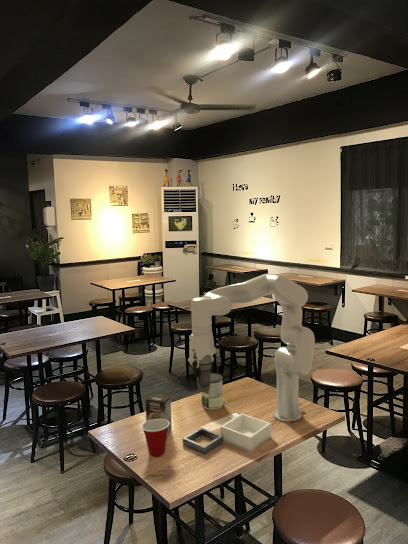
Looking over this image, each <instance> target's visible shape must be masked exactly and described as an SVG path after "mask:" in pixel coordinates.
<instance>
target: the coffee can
mask: <svg viewBox="0 0 408 544" xmlns="http://www.w3.org/2000/svg"><path fill="white" fill-rule="evenodd" d="M223 380H224V379H223V376H222V374H219V373H214V372H213V373H212V372H211V375H210V390H209V391H208V392H201V407H202V408H203V409H206V410H211V411H212V410H218V409H221V408H222V407H223V406H224V403H223V401H224V400H223Z"/></svg>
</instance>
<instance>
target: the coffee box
mask: <svg viewBox="0 0 408 544" xmlns="http://www.w3.org/2000/svg"><path fill="white" fill-rule="evenodd" d="M153 419H165V420H167V421H169V427H168V432H167V438H168V437H169V436H170V434H172V432H173V431H172V430H173V429H172V396H170V395H164V394H158V393H151V394H150V395H149V396H147V397H145V420H146V421H145V422H147V421H149V420H153Z"/></svg>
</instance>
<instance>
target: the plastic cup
mask: <svg viewBox="0 0 408 544" xmlns="http://www.w3.org/2000/svg"><path fill="white" fill-rule="evenodd" d="M168 427H169V421H167V420H165V419H153V420H149V421H147V422H146V421H145V422H143V423H142V424H141V429H142V431H143V433H144V438H145V440H146V446H147V447H148V453H149V455H150V456H151V457H154V458H158V457H162V456H163V455H164V454H165V452H166V446H167V439H168V437H167V432H168Z"/></svg>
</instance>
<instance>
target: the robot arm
mask: <svg viewBox="0 0 408 544" xmlns="http://www.w3.org/2000/svg"><path fill="white" fill-rule="evenodd" d="M268 295H272V296H273V297H274V299H275V300H276V301H277V302H278V304H279V305H280V308H281V310H282V320H281V325H280V326H281V327H280V340H281V341H282V343H284V344H285V345H288V346H281V347H279V348H277V349H276V351H275V353H274V359H273V360H274V364H275V366H274V367H275V369H276V409H274V411H273V414H272V415H273V417H274V418H275V419H276V420H278V421H281V422H284V421H285V423H292V422H291V421H295V422H297V421H296V420H298V421H300V420H301V419H302V418H301V417H303V414H302V412H301V411H300V410H299V408H300V407H301V406H302V404H303V403H302V402H301V401H300V400H299V375H300V376H305V375H307V374H308V373H309V372H310V370H311V368H312V365H313V360H314V359H313V358H314V350H315V343H316V342H315V341H316V338H315V335H314V331H312V330H311V328H308V327H307V326H306V327H305V326H303V323H302V322H303V310H302V307H304V306H305V305H306V303H307V302H308V299H309V294H308V292H307V290H306V288H304V287H303V286H302V285H300V284H298V283H296V282H295V281H293V280H291V279H290V278H288V277H286V276H284V275H281V274H275V273H264V274H261V275H258V276H256V277H253V278H251V279H248V280H246V281H244V282H239V283H235V284H230V285H226V286H222V287H218V288H214V289H213V290H210V291H208V292H207V293H205V294H204V295H203V296H201V297H200V296H199V297H195V298H192V299H191V302H190V304H191V305H190V306H191V307H190V308H191V332H192V333H191V334H190V338H189V357H188V359H187V362H188V363H189V364H190V365H191V367H192V372H193V373H192V374H193V377H195V378H196V377H198V378H200V377H201V375H200V367H199V365H200V360H202V359H203V358H204V357H205V356H206V355H210V356H211V359H212V365H211V373H212V372H213V373H214V361H215V356H216V353H217V348H216V347H215V342H214V335H213V334H214V333H213V331H212V330H213V329H212V327H213V326H212V316H225V315H228V314H229V313H230V312H231V310H232V308H233V307H232V306H233V304H235V303H236V304H246V303H247V304H248V303H252V302H254V301H257V300H259V299H261V298H263V297H266V296H268ZM289 346H291V347H289ZM292 347H293V348H292ZM196 357H197V359H196ZM196 361H197V364H196ZM300 418H301V419H300ZM299 419H300V420H299Z"/></svg>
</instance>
